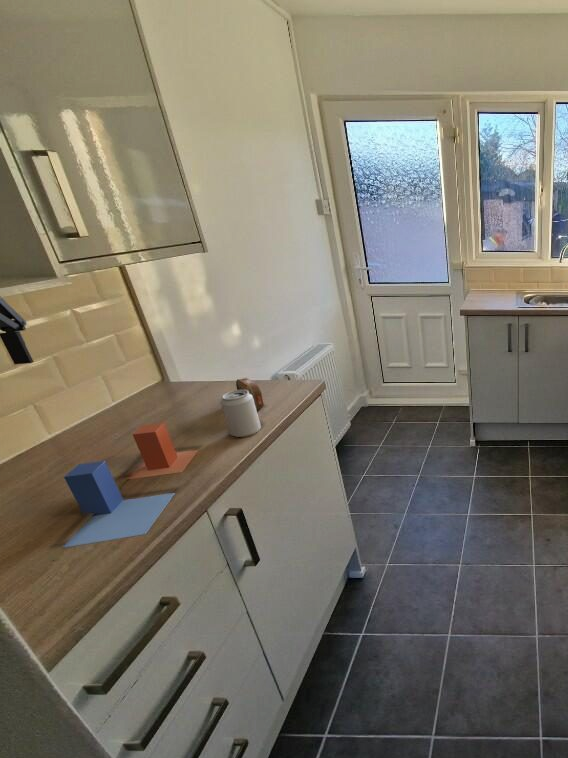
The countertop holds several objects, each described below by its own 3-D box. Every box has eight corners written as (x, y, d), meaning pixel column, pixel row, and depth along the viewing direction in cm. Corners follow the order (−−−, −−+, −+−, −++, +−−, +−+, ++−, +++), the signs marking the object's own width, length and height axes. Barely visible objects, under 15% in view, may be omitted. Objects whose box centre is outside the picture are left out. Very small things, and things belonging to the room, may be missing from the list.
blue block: (84, 517, 84) (63, 476, 80) (98, 503, 88) (78, 464, 84) (111, 513, 85) (91, 473, 81) (123, 499, 89) (105, 460, 85)
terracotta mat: (122, 481, 96) (121, 480, 96) (144, 457, 105) (144, 456, 104) (182, 473, 99) (181, 471, 99) (199, 451, 108) (198, 449, 107)
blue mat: (56, 550, 77) (56, 548, 77) (99, 505, 88) (99, 503, 88) (145, 535, 80) (145, 534, 80) (176, 494, 92) (175, 492, 92)
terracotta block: (147, 470, 99) (132, 434, 95) (156, 460, 103) (142, 425, 99) (169, 467, 100) (155, 431, 96) (177, 457, 104) (164, 422, 100)
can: (267, 426, 119) (257, 389, 114) (248, 440, 112) (236, 400, 107) (245, 424, 120) (233, 387, 115) (224, 437, 114) (211, 398, 109)
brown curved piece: (239, 400, 135) (232, 376, 131) (249, 397, 137) (243, 373, 134) (257, 414, 126) (250, 389, 123) (268, 411, 128) (261, 386, 125)
